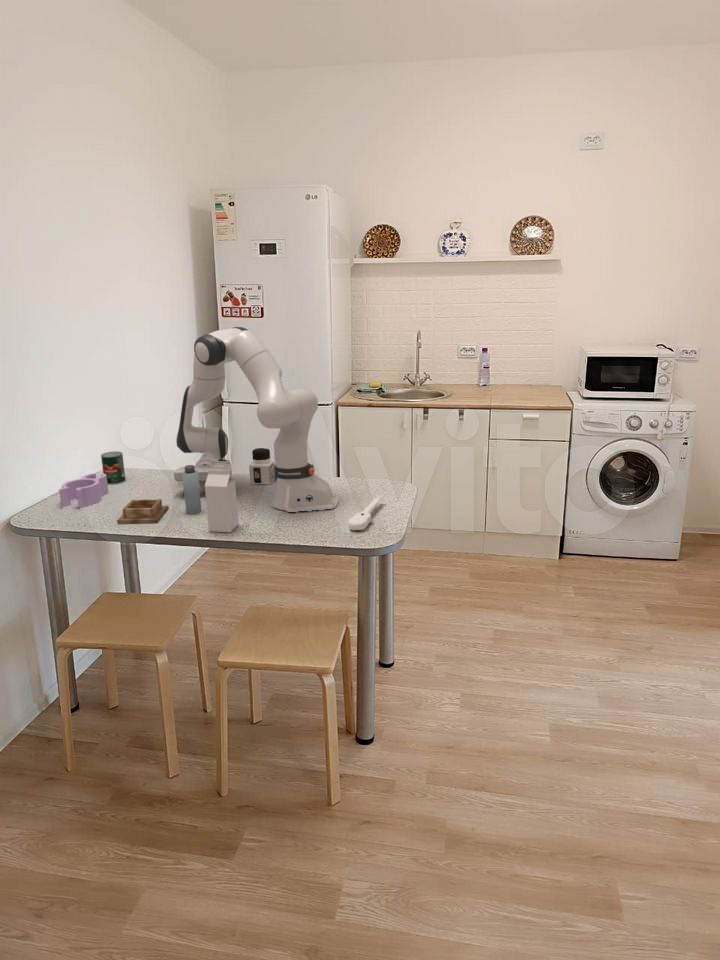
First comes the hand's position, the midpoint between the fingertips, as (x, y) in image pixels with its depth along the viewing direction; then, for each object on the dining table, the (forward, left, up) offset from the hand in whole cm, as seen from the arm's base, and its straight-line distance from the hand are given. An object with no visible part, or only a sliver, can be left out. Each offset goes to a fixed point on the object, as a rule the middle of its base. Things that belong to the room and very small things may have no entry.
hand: (199, 480), depth 248 cm
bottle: (0, +11, -8) cm, 13 cm away
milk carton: (-13, +27, -8) cm, 31 cm away
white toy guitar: (-58, +20, -8) cm, 62 cm away
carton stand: (+16, +14, -8) cm, 23 cm away
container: (-19, -22, -8) cm, 30 cm away
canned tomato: (+39, -27, -8) cm, 48 cm away
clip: (+42, -6, -8) cm, 43 cm away
